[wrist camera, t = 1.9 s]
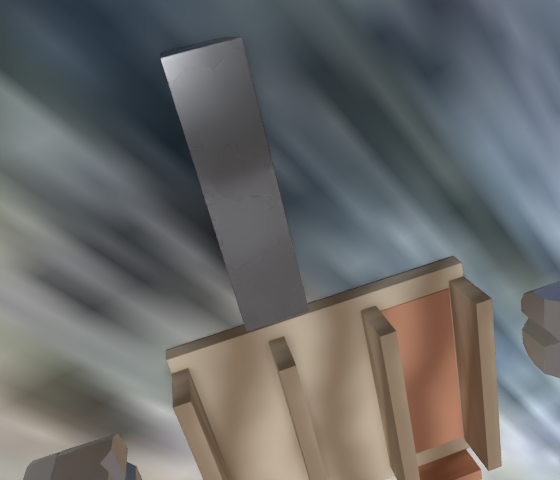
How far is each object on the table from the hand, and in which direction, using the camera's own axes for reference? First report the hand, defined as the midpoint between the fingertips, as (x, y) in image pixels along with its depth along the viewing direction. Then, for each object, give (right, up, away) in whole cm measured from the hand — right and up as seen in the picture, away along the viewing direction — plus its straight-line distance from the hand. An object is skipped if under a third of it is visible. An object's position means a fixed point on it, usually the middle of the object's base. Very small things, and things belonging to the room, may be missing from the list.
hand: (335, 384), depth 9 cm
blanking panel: (-4, +7, +17) cm, 19 cm away
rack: (+3, -8, +24) cm, 26 cm away
